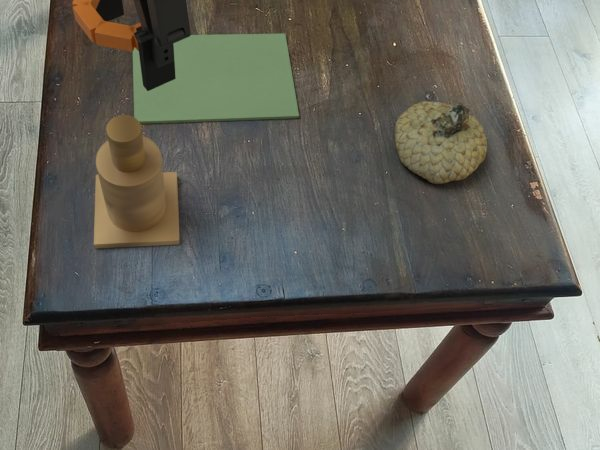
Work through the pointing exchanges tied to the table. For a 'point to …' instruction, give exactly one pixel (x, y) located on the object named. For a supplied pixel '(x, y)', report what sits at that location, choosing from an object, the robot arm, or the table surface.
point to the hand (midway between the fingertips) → (133, 48)
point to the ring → (104, 27)
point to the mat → (221, 81)
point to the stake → (133, 190)
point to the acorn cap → (440, 141)
